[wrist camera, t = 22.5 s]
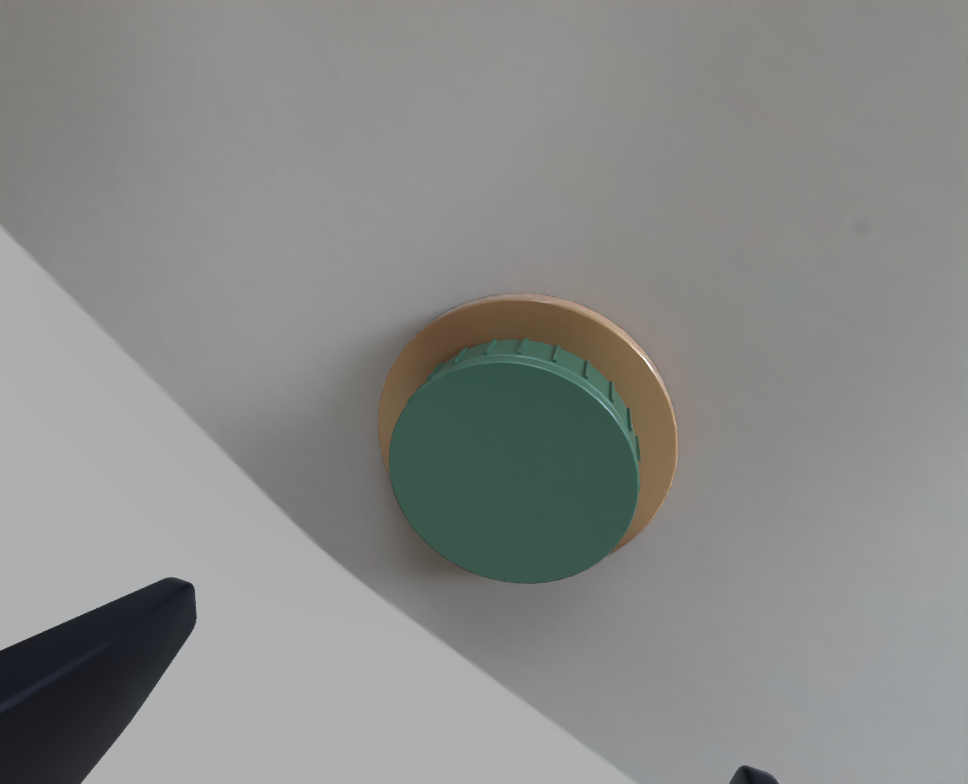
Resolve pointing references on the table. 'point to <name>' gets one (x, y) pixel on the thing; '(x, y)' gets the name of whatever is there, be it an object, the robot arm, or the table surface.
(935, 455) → the table surface
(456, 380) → the jar lid
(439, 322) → the coaster
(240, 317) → the table surface
